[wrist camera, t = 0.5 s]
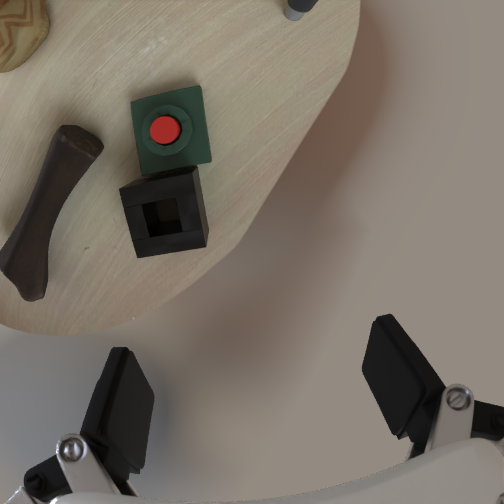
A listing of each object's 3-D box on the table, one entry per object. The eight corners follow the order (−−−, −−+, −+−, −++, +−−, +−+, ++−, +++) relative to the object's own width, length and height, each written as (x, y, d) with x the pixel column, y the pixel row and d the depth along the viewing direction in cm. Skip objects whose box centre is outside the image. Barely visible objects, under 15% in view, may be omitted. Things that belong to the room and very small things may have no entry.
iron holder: (134, 180, 34) (118, 189, 29) (197, 167, 35) (192, 173, 29) (148, 240, 38) (137, 258, 33) (209, 230, 38) (206, 247, 33)
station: (135, 103, 30) (125, 100, 26) (201, 88, 30) (198, 82, 27) (146, 173, 34) (138, 178, 30) (212, 160, 34) (210, 163, 31)
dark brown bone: (45, 276, 41) (114, 142, 36) (43, 316, 34) (120, 159, 29) (-2, 257, 33) (60, 110, 28) (-13, 296, 26) (50, 117, 21)
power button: (152, 120, 28) (148, 119, 27) (178, 114, 28) (175, 113, 27) (156, 145, 30) (152, 146, 28) (181, 140, 30) (179, 140, 28)
